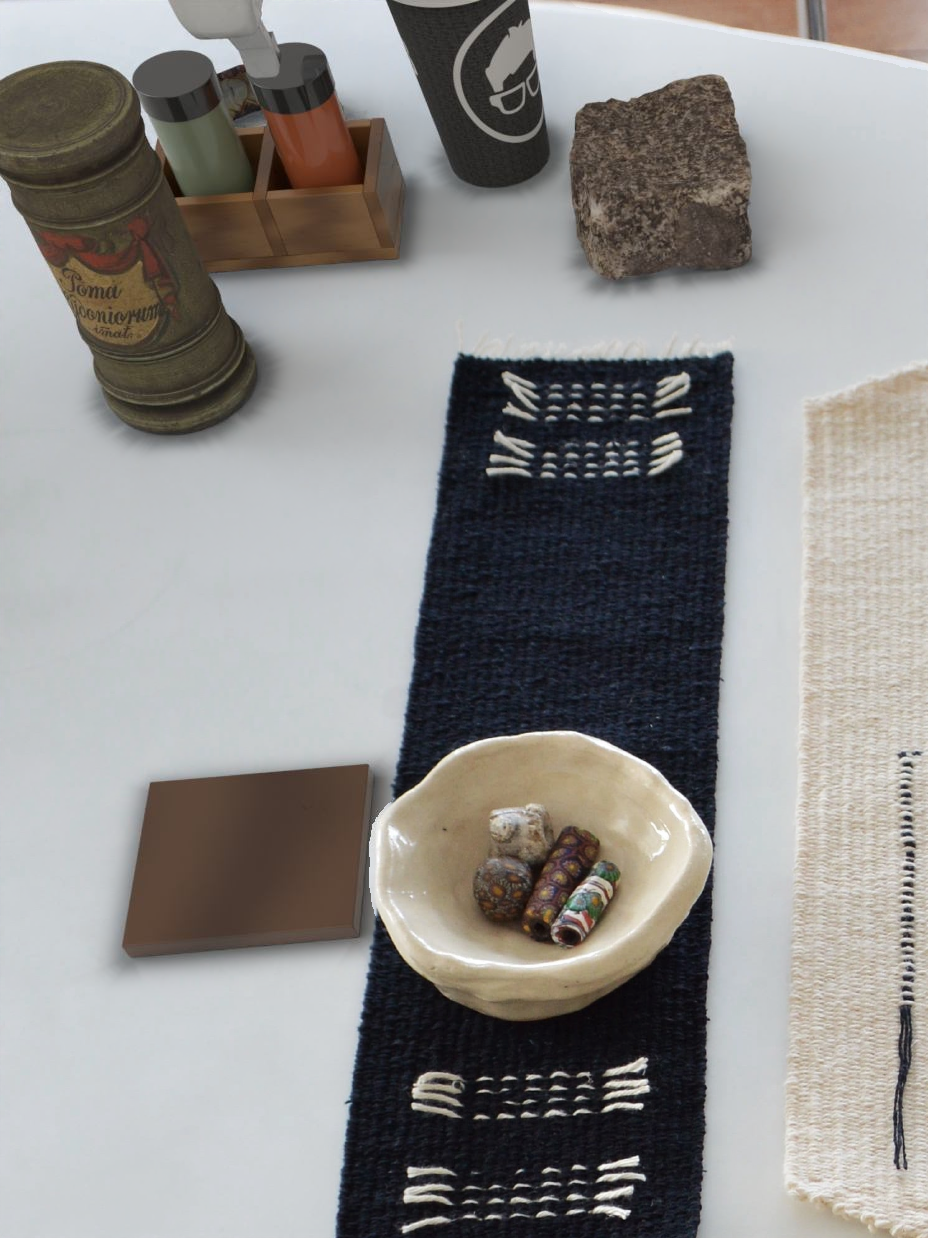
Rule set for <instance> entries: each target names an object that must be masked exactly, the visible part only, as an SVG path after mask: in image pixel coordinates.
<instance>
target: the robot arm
mask: <svg viewBox="0 0 928 1238" xmlns="http://www.w3.org/2000/svg"><path fill="white" fill-rule="evenodd" d="M167 1H168V4H169V5H170V8H171V10H172V12H173V14H174V15H175V18H176V19H177V20H178V22H179V24H180V25H181V26H182V27H183V28H184V29H185V30H186V32H188V34H190V35H191V36H192V37H194V38H195V39H196V40H201V41H207V40H208V41H210V40H224V39H225V40H228V41H229V42H230V43H231V44H232V45H233V47H234V48H235V49H236V50H237V51H238V53H239V56H240V58H241V61H242V64H244V66H245V68H246V71H247V73H248V74H249V75H250V76H252V77H254V78H267V77H275V76H277V75H278V74H279V69H280V63H281V56H282V55H281V52H280V50H279V48H278V41H277V39H276V35H275V33H274V31H273V30H271V31H268V29H267V27H266V26H265V24H264V21H263V20H262V16H263V12H262V8H263V3H264V0H167Z"/></svg>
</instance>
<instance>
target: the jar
mask: <svg viewBox="0 0 928 1238" xmlns="http://www.w3.org/2000/svg"><path fill="white" fill-rule="evenodd" d="M217 74H218V73H217V71H216V67H215V66H214V63H213V61H212V60H211V59H210V58H209V56H207V55H206V54H204V53H202V52H198V51H195V50H189V49H176V50H170V51H169V50H168V51H164V52H162V53H158V54H155V55H153V56H151V57H150V58H148V59H145V60H144V61H143V62H141V63H140V64H139V65H138V66H137V67H136V68H135V70H134V72H133V74H132V77H131V84H132V86H133V87H134V88H135V90H136V92H137V94H138V96H139V99H140V103H141V108H142V109H143V111H144V112H145V114H146V115H147V116H148V119H149V121H150V123H151V125H152V127H153V130H154V132H155V134H156V138H157V137H158V139H159V141H160V144H161V146H162V148H163V151H164V153H165V155H166V158H167V160H168V162H169V164H170V167H171V169H172V171H173V174H174V176H175V178H176V181H177V183H178V185H179V187H180V190H181V192H182V194H183V197H193V196H207V195H221V194H235V193H249V192H253V193H254V190H255V184H256V177H255V174H254V172H253V169H252V167H251V164H250V161H249V159H248V156H247V154H246V151H245V149H244V146H243V144H242V141H241V139H240V136H239V134H238V131H237V128H238V127H237V126H236V123H235V121H233V118H232V116H231V113H230V111H229V108H228V106H227V103H226V100H225V98H224V95H223V88H222V86H221V83H220V81H219V78H218V75H217Z"/></svg>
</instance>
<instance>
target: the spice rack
mask: <svg viewBox="0 0 928 1238" xmlns="http://www.w3.org/2000/svg"><path fill="white" fill-rule="evenodd" d="M346 121H347V124H348V127H349V130H350V133H351V136H352V139H353V142H354V145H355V148H356V151H357V154H358V157H359V160H360V163H361V166H362V169H363V172H364V175H365V179H364V185H363V184H360V185H346V186H332V187H318V188H304V189H291V186H290V184H289V181H288V178H287V176H286V173H285V170H284V168H283V165H282V162H281V160H280V157H279V155H278V152H277V149H276V147H275V144H274V141H273V139H272V136H271V133H270V131H269V128H268V125H259V126H257V125H256V126H244V127H236V128H237V131H238V134H239V136H240V139H241V141H242V144H243V146H244V149H245V151H246V154H247V156H248V159H249V161H250V164H251V167H252V169H253V172H254V174H255V177H256V184H255V190H254V193H253V192H249V193H235V194H221V195H207V196H193V197H183V194H182V192H181V190H180V187H179V185H178V183H177V181H176V178H175V176H174V174H173V171H172V169H171V167H170V164H169V162H168V160H167V158H166V155H165V153H164V151H163V148H162V146H161V144H160V141H159V139H158V137H157V136H156V143H155V146H154V150H155V152H156V153H157V154H158V155H159V157H160V159H161V162H162V165H163V173H164V175H165V177H166V179H167V181H168V184H169V186H170V188H171V190H172V193H173V195H174V197H175V200H176V202H177V204H178V206H179V209H180V211H181V214H182V216H183V219H184V221H185V223H186V226H187V228H188V230H189V233H190V235H191V237H192V239H193V241H194V244H195V246H196V248H197V251H198V253H199V256H200V258H201V260H202V262H203V264H204V266H205V268H206V271H207V273H208V274H209V273H221V272H233V271H235V272H236V271H248V270H262V269H276V268H287V267H301V266H315V265H330V264H343V263H356V262H357V263H358V262H370V261H383V260H385V261H386V260H396V259H399V257H400V256H399V254H400V245H401V236H402V226H403V215H404V208H405V207H404V206H405V195H406V187H407V186H406V185H407V184H406V181H405V179H404V175H403V172H402V169H401V166H400V163H399V160H398V157H397V153H396V150H395V147H394V144H393V140H392V137H391V135H390V131H389V128H388V125H387V121H386V119H385V117H373V118H362V119H346Z"/></svg>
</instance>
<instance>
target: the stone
mask: <svg viewBox="0 0 928 1238" xmlns="http://www.w3.org/2000/svg"><path fill="white" fill-rule="evenodd" d="M732 95H733V94H732V92H731V90H730V87H729V83H728V82H727V80H725V77H724V76H722V75H719V74H714V73H710V74H709V73H708V74H700V75H696V76H693V77H690V78H680V79H676V80H673V81H671V82H669V83H667V84H666V85H664V86H663V87H661V88H658V89H655V90H653V91H650V92H646V93H643V94H642V95H640V96H638V97H630V99H629V100H628V101H625V100H620V99H616V98H614V97H610V98H609V99H606V100H605V101H593V102H588V103H585V104H584V106H583V107H581V109H579V110H578V111H577V112H576V113H575V116H574V135H573V139H571V142H572V147H571V148H570V151H569V154H568V163H569V165H568V166H569V175H570V190H571V203H572V208H573V213H574V216H575V217H574V218H575V226H576V237H577V239H578V241H579V243H580V247H581V249H582V250H583V252H584V254H585V260H586V262H587V264H588V265H589V267H590V268H591V269H593V270H594V271H595V273H597V274H598V275H599V277H601V278H603V279H605V280H609V281H619V280H621V279H623V278H629V277H641V276H646V275H651V274H654V273H658V272H661V271H666V270H671V269H675V268H679V267H683V268H686V269H692V268H693V269H695V270H704V269H706V270H724V271H725V270H726V271H729V270H732V268H735V267H739V266H742V265H744V264H746V263H748V262H749V261H750V259H751V258H752V254H753V252H752V251H753V250H752V248H753V247H752V243H753V241H752V228H751V224H750V219H749V215H748V207H749V206H750V204H751V202H750V195H751V186H752V181H753V177H752V176H753V175H752V172H751V163H750V161H749V160H748V150H747V143H746V141H745V140H744V138H743V137H742V136H741V134H740V125H739V123H738V122H737V118H736V116H735V115H736V114H735V113H736V105H735V102H734V98H733V97H732Z"/></svg>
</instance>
